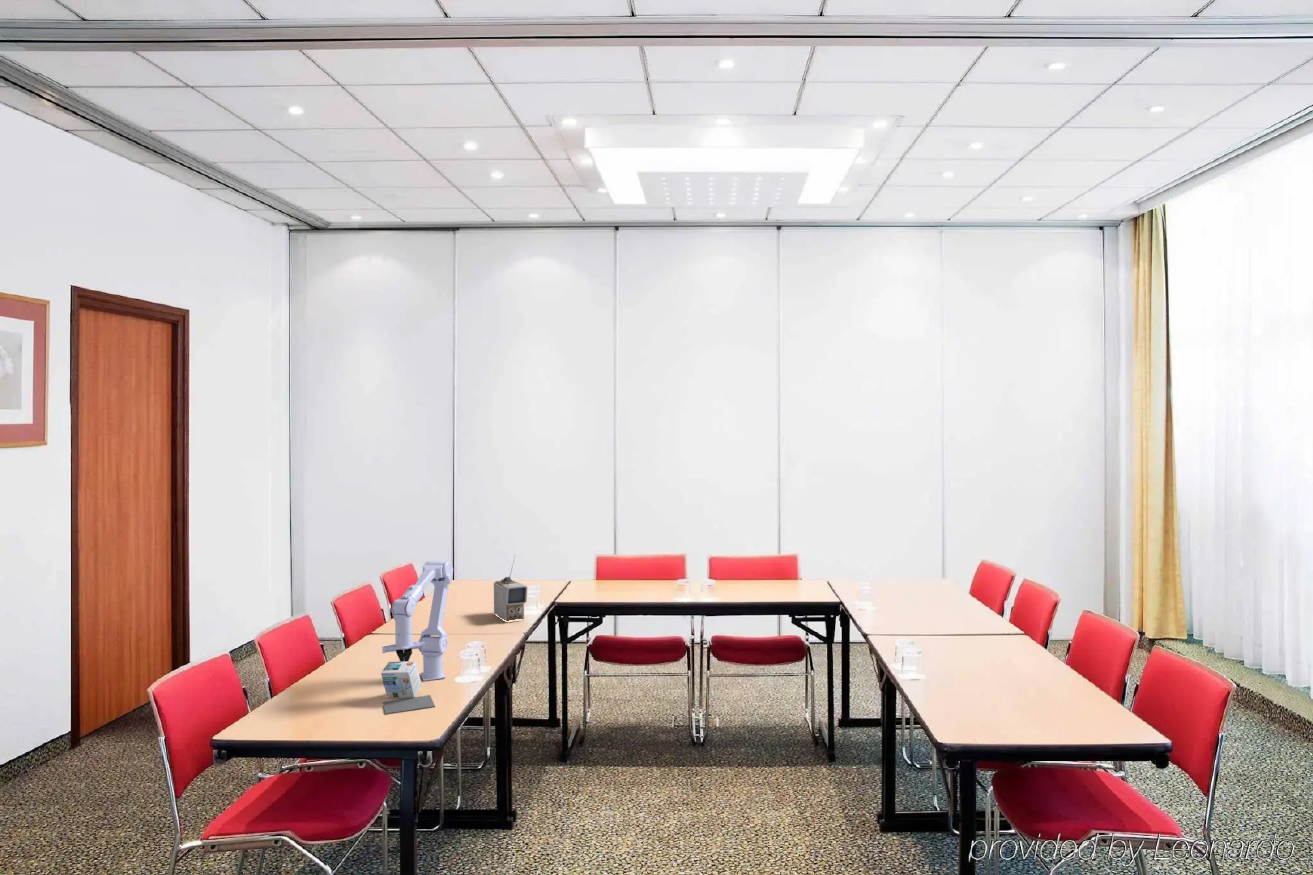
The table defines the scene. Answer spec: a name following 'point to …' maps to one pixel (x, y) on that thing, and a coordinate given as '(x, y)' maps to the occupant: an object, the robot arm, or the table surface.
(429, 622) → the robot arm
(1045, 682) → the table surface
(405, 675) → the light bulb box
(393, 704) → the mat
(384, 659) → the table surface
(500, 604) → the portable television
